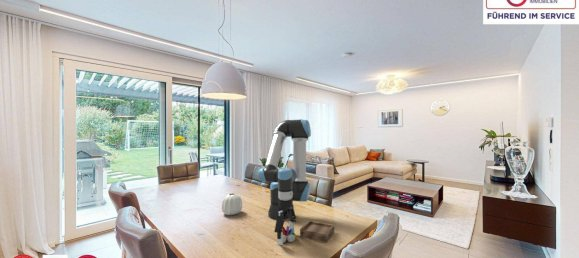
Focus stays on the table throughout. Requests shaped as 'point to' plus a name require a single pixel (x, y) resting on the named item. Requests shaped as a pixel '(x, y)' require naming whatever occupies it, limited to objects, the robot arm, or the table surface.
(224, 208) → the vase
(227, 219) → the table surface
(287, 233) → the multicoloured small pieces
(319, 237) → the wooden tray
